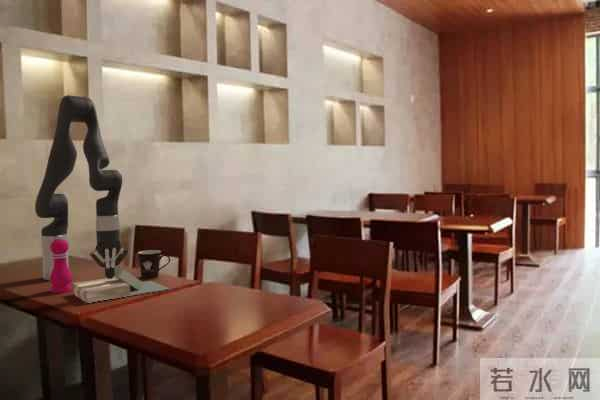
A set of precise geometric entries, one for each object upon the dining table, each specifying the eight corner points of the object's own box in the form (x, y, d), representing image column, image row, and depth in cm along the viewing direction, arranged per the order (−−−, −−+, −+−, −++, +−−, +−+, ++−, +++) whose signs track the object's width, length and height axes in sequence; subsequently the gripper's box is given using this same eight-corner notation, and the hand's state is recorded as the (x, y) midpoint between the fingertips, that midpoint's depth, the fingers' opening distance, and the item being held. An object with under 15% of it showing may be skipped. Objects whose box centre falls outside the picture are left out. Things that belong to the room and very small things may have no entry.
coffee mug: (133, 278, 211) (133, 253, 210) (148, 274, 219) (147, 249, 218) (158, 280, 207) (157, 254, 206) (172, 276, 214) (171, 251, 214)
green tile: (109, 273, 190) (115, 266, 191) (129, 286, 195) (134, 279, 196) (119, 277, 184) (124, 269, 185) (139, 290, 189) (143, 283, 190)
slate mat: (114, 288, 195) (114, 286, 195) (151, 282, 204) (151, 280, 204) (130, 296, 183) (130, 295, 183) (169, 290, 191) (169, 288, 191)
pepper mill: (64, 293, 188) (61, 236, 186) (45, 293, 189) (43, 236, 188) (76, 288, 195) (74, 233, 193) (58, 288, 196) (56, 233, 195)
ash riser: (73, 294, 187) (73, 282, 187) (114, 288, 195) (113, 277, 195) (87, 303, 174) (86, 291, 174) (130, 296, 183) (129, 285, 182)
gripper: (123, 225, 192) (125, 274, 193) (84, 229, 184) (86, 279, 185) (130, 227, 186) (132, 277, 187) (91, 231, 178) (93, 283, 179)
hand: (109, 278), depth 186 cm, fingers closed
